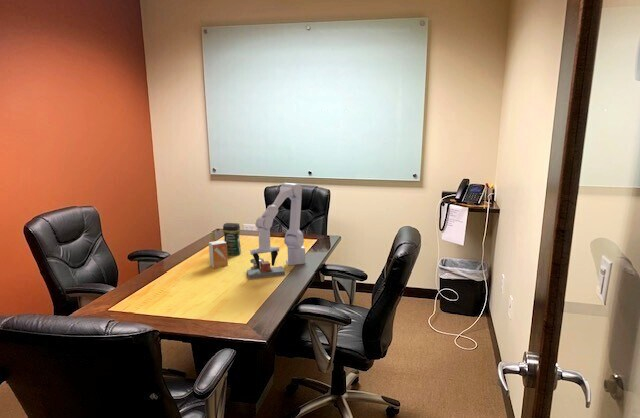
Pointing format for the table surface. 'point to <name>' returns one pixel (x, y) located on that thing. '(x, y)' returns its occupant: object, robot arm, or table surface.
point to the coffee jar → (232, 238)
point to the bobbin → (256, 264)
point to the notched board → (257, 274)
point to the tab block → (265, 266)
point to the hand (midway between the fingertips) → (265, 266)
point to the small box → (218, 254)
